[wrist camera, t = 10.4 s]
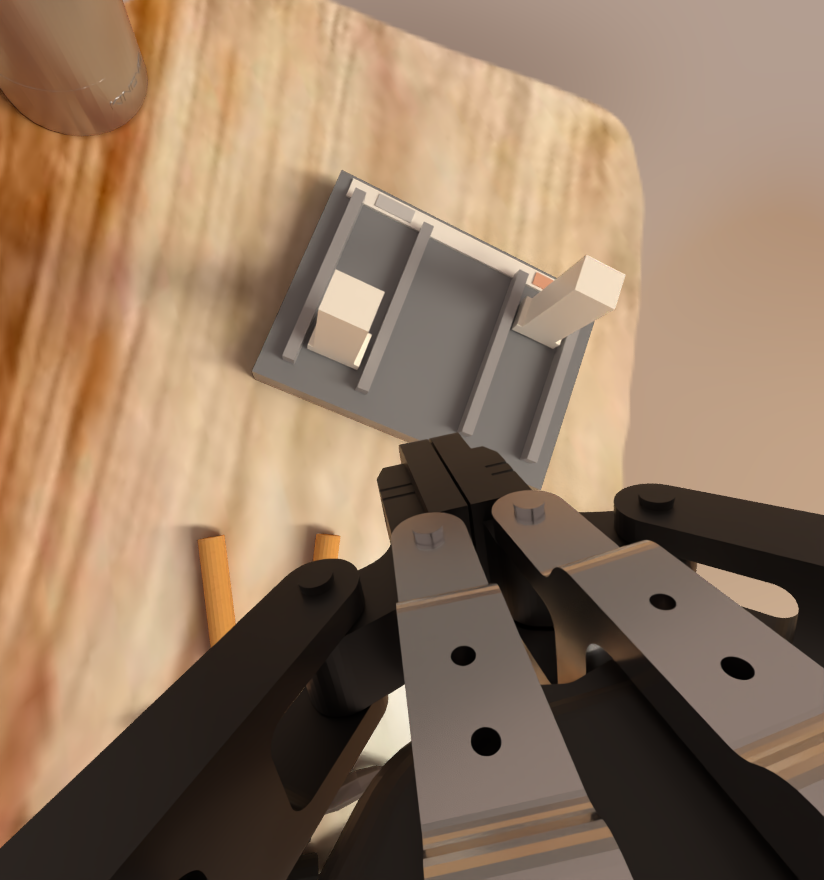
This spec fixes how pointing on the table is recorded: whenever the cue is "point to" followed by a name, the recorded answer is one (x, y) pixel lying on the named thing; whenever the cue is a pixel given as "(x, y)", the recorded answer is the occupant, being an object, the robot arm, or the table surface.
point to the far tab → (569, 302)
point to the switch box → (426, 333)
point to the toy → (223, 620)
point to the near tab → (345, 320)
